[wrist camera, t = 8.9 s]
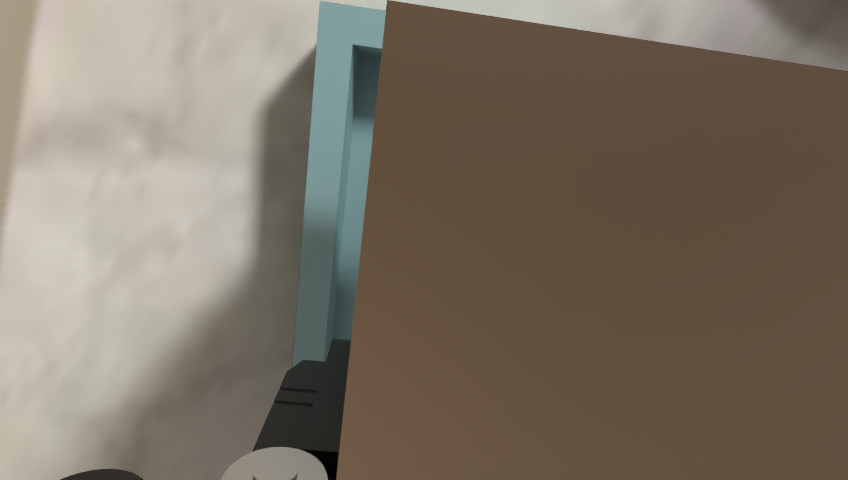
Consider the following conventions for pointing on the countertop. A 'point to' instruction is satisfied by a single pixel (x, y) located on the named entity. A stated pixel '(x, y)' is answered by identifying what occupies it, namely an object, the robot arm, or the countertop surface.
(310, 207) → the light blue rectangular tray
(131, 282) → the countertop surface
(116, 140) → the countertop surface
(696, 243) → the picture frame
